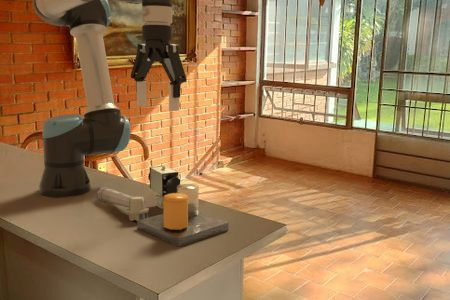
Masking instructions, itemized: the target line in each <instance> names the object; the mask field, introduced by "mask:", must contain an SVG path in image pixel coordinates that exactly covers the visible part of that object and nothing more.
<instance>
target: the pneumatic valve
mask: <svg viewBox="0 0 450 300" xmlns="http://www.w3.org/2000/svg"><path fill="white" fill-rule="evenodd" d="M147 178H148V181H149V189H150V190H152V191H154V192H156V193H157V194H156V195H155V198H156V199H155V200H156V201H155V202H156V203H155V206H156V207H158V209H161V210H164V196H165V195H167V194H171V193H177V186H178V185H181V179H180V178H179V172H178V171H177V170H176V169H174V168H170V167H167V166H166V165H159V166H152V167H149V172H148V176H147Z"/></svg>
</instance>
